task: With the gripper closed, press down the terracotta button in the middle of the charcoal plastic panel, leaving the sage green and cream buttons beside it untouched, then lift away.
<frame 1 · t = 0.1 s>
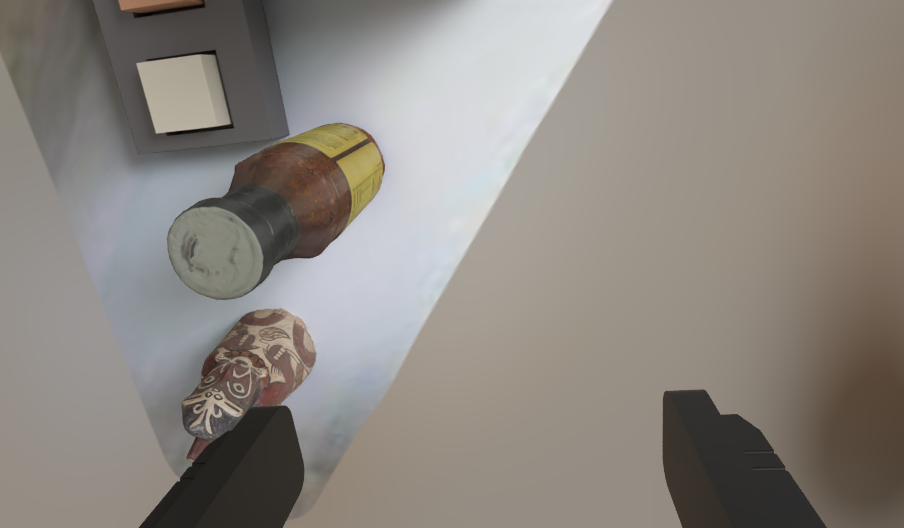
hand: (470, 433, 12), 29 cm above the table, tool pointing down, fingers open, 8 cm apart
sauce bottle: (349, 166, 40), on the table
figurine: (277, 345, 46), on the table
cream button: (186, 94, 36), point 3 cm above the table, slide at 0.0 cm
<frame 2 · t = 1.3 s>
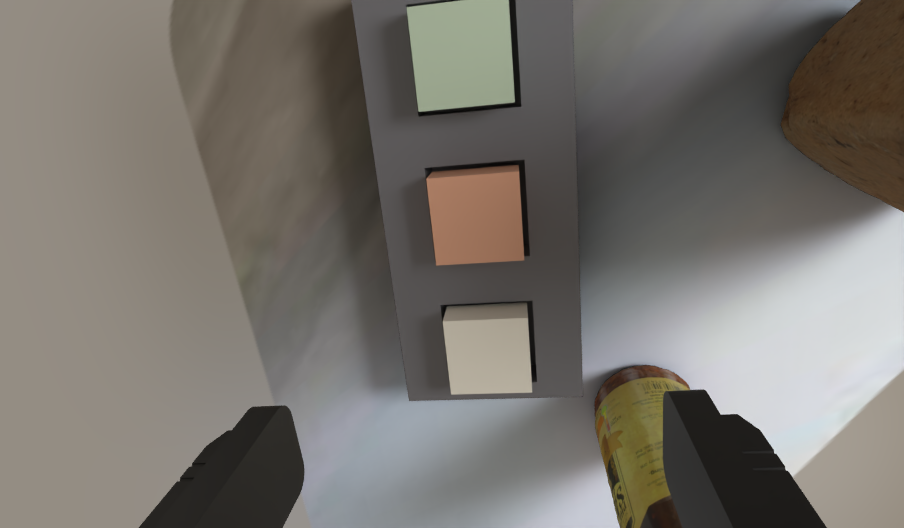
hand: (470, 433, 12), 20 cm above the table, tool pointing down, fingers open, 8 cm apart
terracotta button: (477, 215, 27), point 3 cm above the table, slide at 0.0 cm
sauce bottle: (643, 404, 34), on the table
brown sandstone rock: (876, 110, 27), on the table
sage button: (463, 56, 25), point 3 cm above the table, slide at 0.0 cm
cream button: (488, 348, 30), point 3 cm above the table, slide at 0.0 cm
button panel: (481, 199, 31), on the table
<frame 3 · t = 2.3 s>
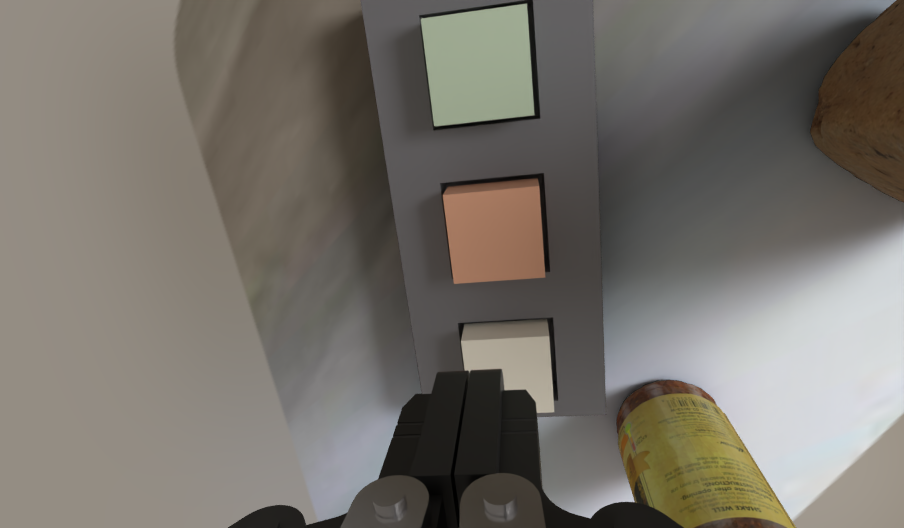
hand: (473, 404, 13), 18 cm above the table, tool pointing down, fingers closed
terracotta button: (495, 231, 26), point 4 cm above the table, slide at 0.0 cm
sauce bottle: (666, 419, 33), on the table
sage button: (480, 67, 24), point 4 cm above the table, slide at 0.0 cm
cream button: (508, 367, 29), point 3 cm above the table, slide at 0.0 cm
button panel: (497, 213, 30), on the table
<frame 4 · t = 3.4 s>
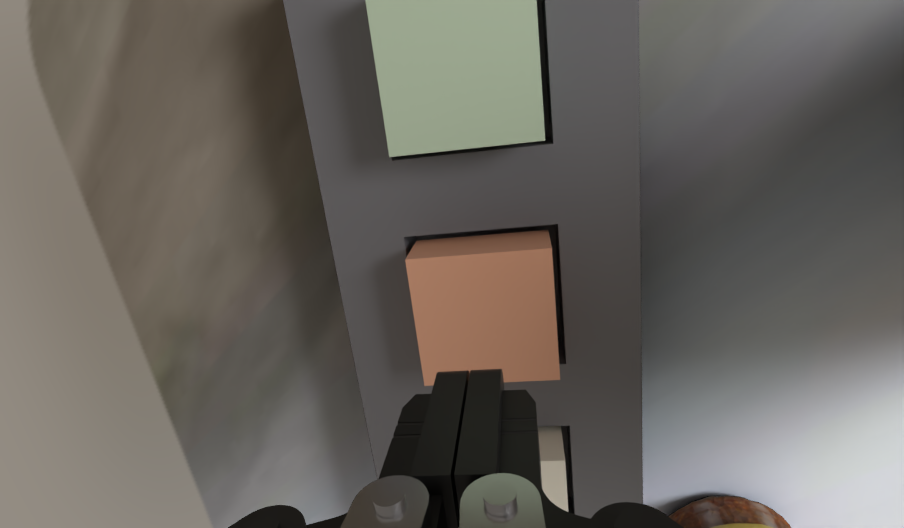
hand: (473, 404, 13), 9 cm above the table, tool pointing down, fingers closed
terracotta button: (486, 308, 18), point 4 cm above the table, slide at 0.0 cm
sage button: (460, 66, 15), point 4 cm above the table, slide at 0.0 cm
cream button: (505, 493, 20), point 4 cm above the table, slide at 0.0 cm
button panel: (490, 271, 21), on the table
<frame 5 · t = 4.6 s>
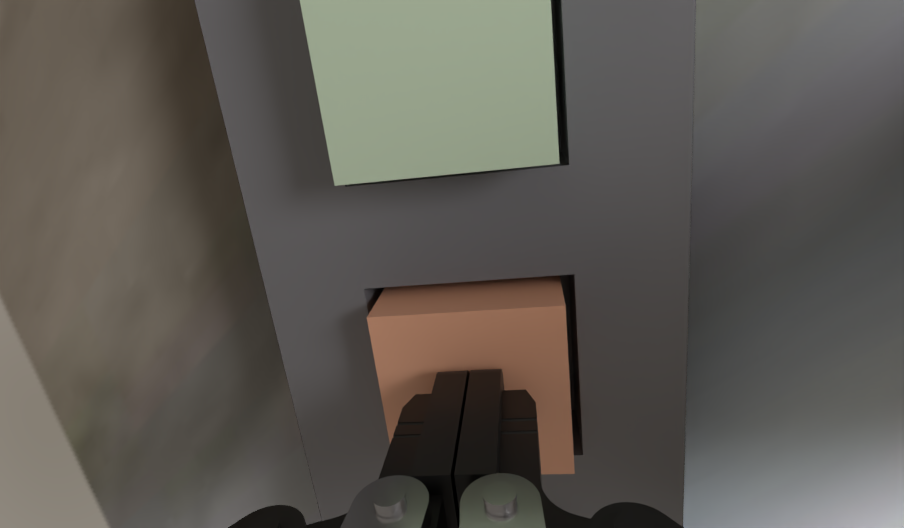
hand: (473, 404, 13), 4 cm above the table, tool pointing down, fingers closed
terracotta button: (476, 375, 14), point 3 cm above the table, slide at 0.5 cm, touching gripper
sage button: (436, 55, 11), point 3 cm above the table, slide at 0.0 cm
button panel: (483, 322, 16), on the table
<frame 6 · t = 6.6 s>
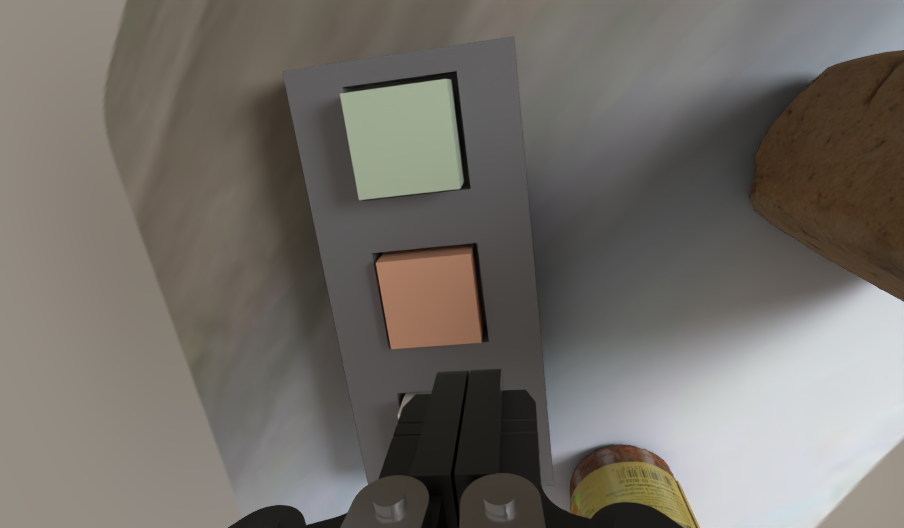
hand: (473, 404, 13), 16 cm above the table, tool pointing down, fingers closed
terracotta button: (432, 295, 26), point 3 cm above the table, slide at 0.8 cm
sauce bottle: (622, 483, 32), on the table
brown sandstone rock: (850, 178, 26), on the table
sage button: (405, 139, 23), point 3 cm above the table, slide at 0.0 cm
cream button: (450, 438, 28), point 3 cm above the table, slide at 0.0 cm
button panel: (439, 277, 29), on the table
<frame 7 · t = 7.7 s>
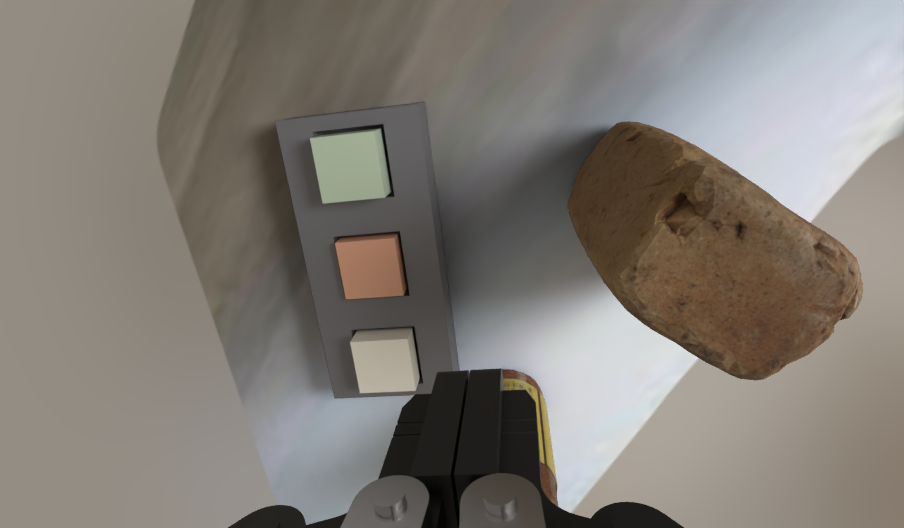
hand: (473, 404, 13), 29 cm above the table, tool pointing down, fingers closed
terracotta button: (372, 265, 40), point 3 cm above the table, slide at 0.8 cm
sauce bottle: (510, 398, 46), on the table
brown sandstone rock: (643, 191, 39), on the table
sage button: (351, 165, 37), point 3 cm above the table, slide at 0.0 cm
cream button: (386, 360, 42), point 3 cm above the table, slide at 0.0 cm
button panel: (381, 253, 43), on the table
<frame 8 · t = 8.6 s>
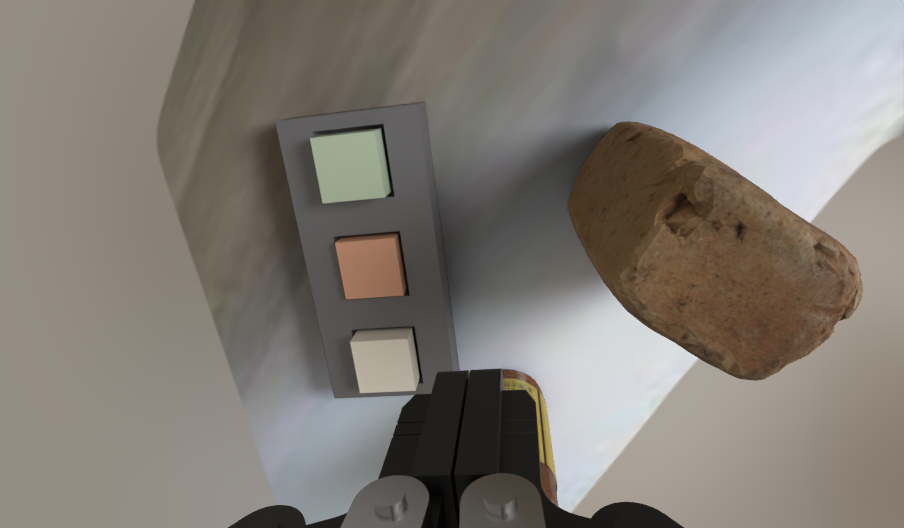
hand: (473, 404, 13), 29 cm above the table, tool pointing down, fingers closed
terracotta button: (372, 264, 40), point 3 cm above the table, slide at 0.8 cm
sauce bottle: (510, 398, 46), on the table
brown sandstone rock: (643, 191, 39), on the table
sage button: (351, 165, 37), point 3 cm above the table, slide at 0.0 cm
cream button: (386, 360, 42), point 3 cm above the table, slide at 0.0 cm
button panel: (381, 253, 43), on the table
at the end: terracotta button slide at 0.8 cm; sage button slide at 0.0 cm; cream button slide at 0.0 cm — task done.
